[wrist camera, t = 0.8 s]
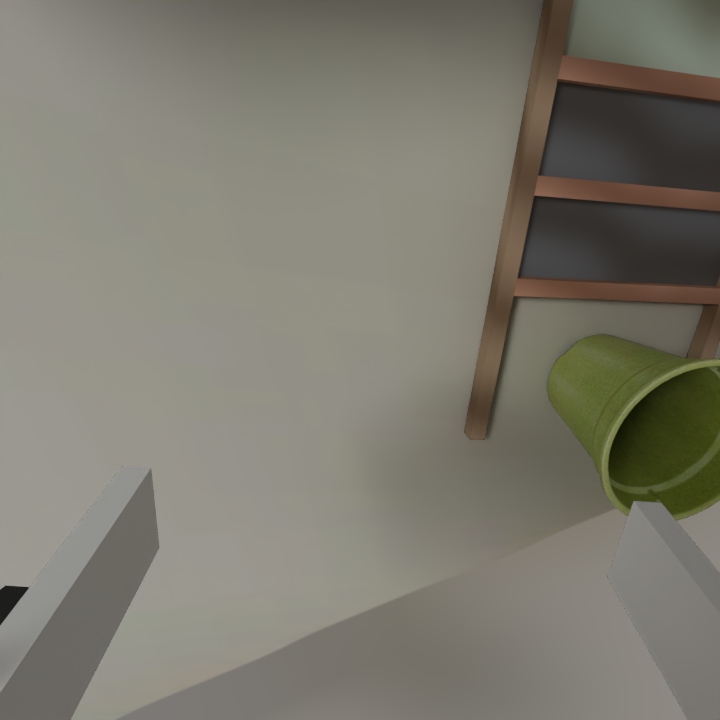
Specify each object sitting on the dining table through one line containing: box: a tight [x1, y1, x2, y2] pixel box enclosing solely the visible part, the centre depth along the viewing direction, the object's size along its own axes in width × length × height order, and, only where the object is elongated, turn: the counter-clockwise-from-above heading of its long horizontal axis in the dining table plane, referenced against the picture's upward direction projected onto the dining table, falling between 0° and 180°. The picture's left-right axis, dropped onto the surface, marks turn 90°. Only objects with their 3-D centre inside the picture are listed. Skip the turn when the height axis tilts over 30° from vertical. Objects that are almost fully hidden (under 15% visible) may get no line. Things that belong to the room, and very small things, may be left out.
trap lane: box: [464, 0, 720, 440], centre depth 28 cm, size 33×16×1 cm, turn 175°
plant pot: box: [548, 335, 720, 520], centre depth 29 cm, size 9×9×9 cm
